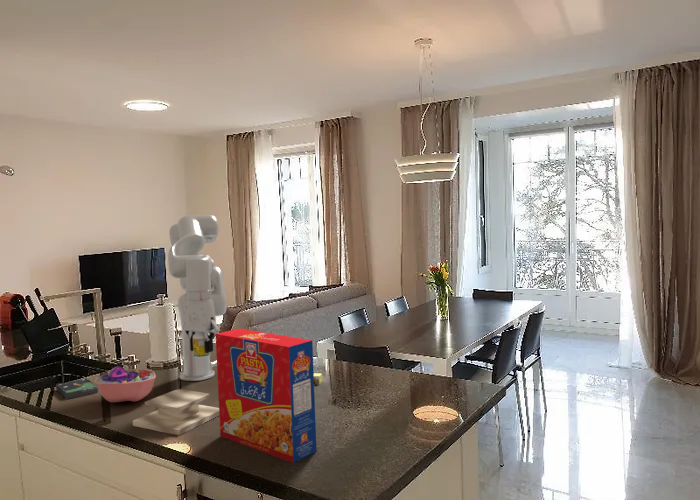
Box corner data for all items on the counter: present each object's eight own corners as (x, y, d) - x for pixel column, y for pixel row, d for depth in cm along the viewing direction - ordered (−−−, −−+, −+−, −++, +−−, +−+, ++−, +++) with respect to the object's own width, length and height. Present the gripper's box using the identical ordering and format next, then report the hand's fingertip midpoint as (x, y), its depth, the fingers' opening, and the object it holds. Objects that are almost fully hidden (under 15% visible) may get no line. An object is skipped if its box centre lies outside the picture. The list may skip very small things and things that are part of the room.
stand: (179, 405, 174) (178, 385, 174) (223, 413, 166) (222, 392, 166) (132, 425, 159) (131, 403, 158) (179, 435, 150) (177, 412, 150)
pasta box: (220, 436, 149) (215, 333, 147) (243, 426, 155) (239, 328, 153) (293, 463, 131) (288, 347, 129) (316, 451, 137) (312, 340, 135)
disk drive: (55, 391, 196) (66, 400, 185) (54, 384, 196) (65, 392, 184) (86, 385, 203) (99, 393, 191) (86, 377, 202) (98, 385, 191)
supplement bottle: (211, 357, 177) (210, 328, 176) (194, 360, 175) (193, 330, 174) (209, 353, 182) (207, 325, 181) (192, 355, 180) (191, 326, 179)
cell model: (133, 412, 170) (131, 376, 169) (83, 406, 177) (81, 372, 176) (169, 395, 186) (167, 362, 185) (122, 390, 193) (120, 358, 192)
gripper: (170, 296, 177) (173, 351, 179) (211, 299, 169) (214, 357, 171) (187, 292, 184) (190, 345, 186) (227, 295, 176) (230, 351, 178)
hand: (201, 350), depth 178 cm, fingers closed on supplement bottle, 5 cm apart
